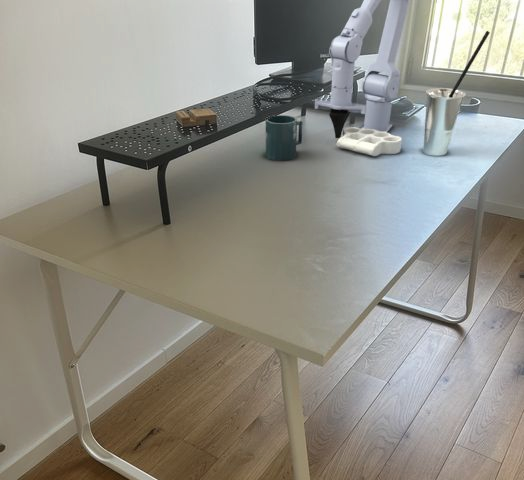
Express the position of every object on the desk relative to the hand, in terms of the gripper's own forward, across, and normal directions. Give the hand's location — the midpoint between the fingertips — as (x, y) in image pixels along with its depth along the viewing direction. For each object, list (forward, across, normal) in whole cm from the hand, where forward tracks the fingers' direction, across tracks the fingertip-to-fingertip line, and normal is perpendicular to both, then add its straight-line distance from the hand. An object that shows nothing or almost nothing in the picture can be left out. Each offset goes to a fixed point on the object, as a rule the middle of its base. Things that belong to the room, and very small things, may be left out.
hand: (338, 137), depth 160 cm
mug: (+1, -10, -16) cm, 19 cm away
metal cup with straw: (+2, +28, +2) cm, 28 cm away
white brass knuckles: (+2, +9, -1) cm, 10 cm away
